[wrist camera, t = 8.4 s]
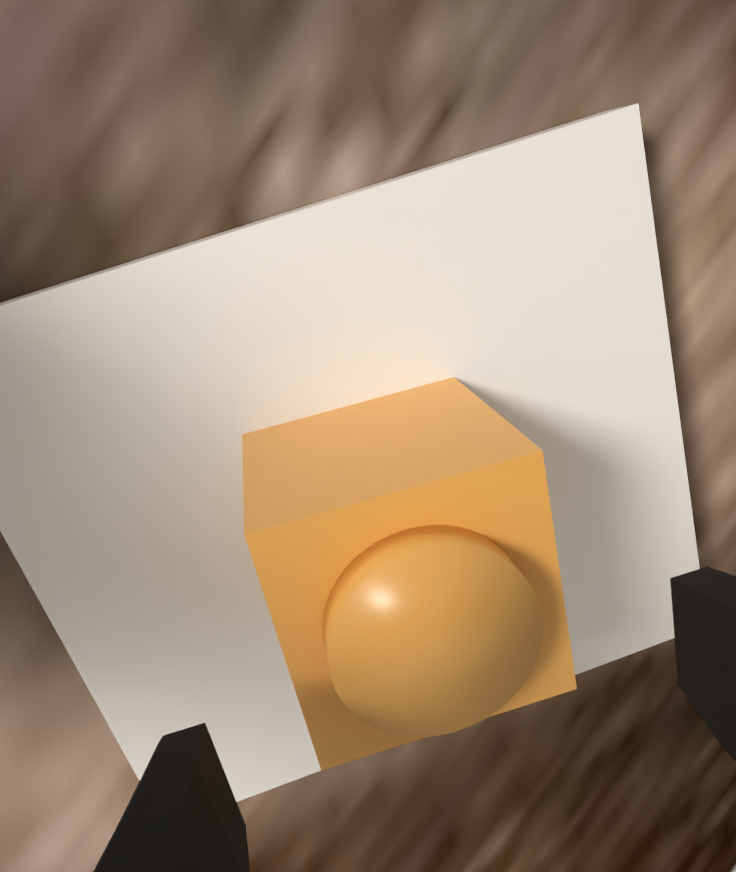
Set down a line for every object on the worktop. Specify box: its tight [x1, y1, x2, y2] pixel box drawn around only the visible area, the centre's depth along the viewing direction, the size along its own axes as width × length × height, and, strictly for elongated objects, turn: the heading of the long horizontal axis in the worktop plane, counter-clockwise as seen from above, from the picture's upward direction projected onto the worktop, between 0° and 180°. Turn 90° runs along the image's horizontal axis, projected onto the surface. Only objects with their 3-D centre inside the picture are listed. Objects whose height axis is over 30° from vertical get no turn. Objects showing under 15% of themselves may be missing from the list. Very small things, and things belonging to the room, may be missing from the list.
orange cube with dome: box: [242, 377, 577, 771], centre depth 14 cm, size 5×5×6 cm
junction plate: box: [0, 104, 700, 802], centre depth 16 cm, size 16×14×5 cm
